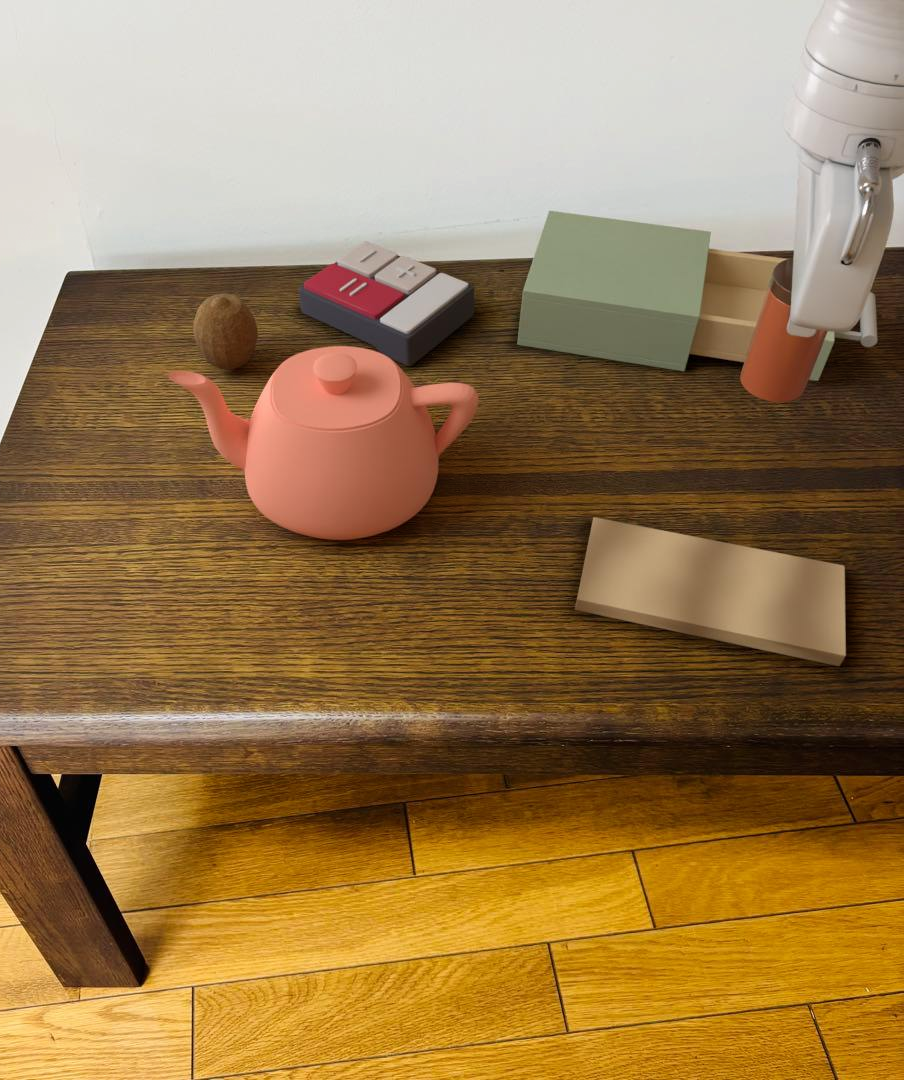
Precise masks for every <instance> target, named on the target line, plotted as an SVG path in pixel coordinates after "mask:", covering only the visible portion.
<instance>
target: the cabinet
mask: <svg viewBox="0 0 904 1080" xmlns="http://www.w3.org/2000/svg"><path fill="white" fill-rule="evenodd" d="M711 233H712V231H708V230H702V229H701V230H700V229H695V228H694V229H692V228H684V227H677V226H670V225H669V226H668V225H662V224H656V223H655V224H654V223H646V222H639V221H631V220H623V219H618V218H617V219H616V218H609V217H601V216H593V215H587V214H586V215H585V214H580V213H570V212H564V211H563V212H562V211H557V210H556V211H555V210H548V212H547V216H546V220H545V222H544V224H543V229H542V231H541V235H540V237H539V240H538V243H537V246H536V250H535V253H534V256H533V258H532V262H531V264H530V265H531V266H530V268H529V271H528V274H527V277H526V280H525V283H524V285H523V286H524V287H523V288H522V289H523V290H522V297H521V304H520V305H521V306H520V314H519V315H520V316H519V325H518V333H517V334H518V335H517V343H516V345H517V346H523V347H529V348H534V349H540V350H541V349H542V350H548V351H553V352H559V353H560V352H561V353H565V354H573V355H578V356H579V355H580V356H586V357H589V358H591V357H592V358H596V359H603V360H610V361H615V362H623V363H628V364H634V365H641V366H648V367H653V368H661V369H666V370H671V371H679V372H685V371H686V368H687V365H688V361H689V357H690V354H689V353H690V350H691V346H692V342H693V339H694V335H695V331H696V328H697V324H698V321H699V317H700V310H701V302H702V295H703V287H704V280H705V272H706V265H707V257H708V250H709V249H710V242H711Z"/></svg>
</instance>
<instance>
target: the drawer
mask: <svg viewBox="0 0 904 1080" xmlns="http://www.w3.org/2000/svg"><path fill="white" fill-rule="evenodd" d="M787 259H788V258H785V257H783V258H782V257H776V256H770V255H769V256H768V255H767V256H766V255H760V254H754V253H746V252H745V253H744V252H739V251H731V250H724V249H715V248H709V250H708V257H707V265H706V272H705V280H704V287H703V295H702V302H701V310H700V317H699V321H698V324H697V328H696V331H695V335H694V339H693V342H692V346H691V350H690V353H689V355H695V356H701V357H707V358H713V359H714V358H715V359H719V360H726V361H727V360H728V361H731V362H732V361H734V362H738V363H739V362H740V363H744V361H745V358H746V355H747V352H748V349H749V346H750V342H751V339H752V336H753V333H754V330H755V327H756V323H757V320H758V317H759V314H760V311H761V308H762V304H763V301H764V298H765V295H766V292H767V289H768V285H769V282H770V279H771V276H772V273H773V270H774V268H775V267H776V265H777V264H779V263H780V262H782V261H784V260H787ZM876 303H877V302H876V295H875V294H874V292H871V291H870V293H869V295H868V298H867V301H866V304H865V306H864V309H863V312H862V314H861V317H860V319H859V326H860V327H859V330H860V331H853V330H850V331H848V332H831V331H828V332H827V335H826V337H825V340H824V342H823V345H822V347H821V350H820V353H819V355H818V358H817V360H816V363H815V366H814V368H813V371H812V373H811V376H810V379H809V381H814V382H815V381H816V382H819V380H820V378H821V375H822V373H823V370H824V368H825V366H826V364H827V361H828V359H829V356H830V353H831V352H832V349H833V346H834V344H835V341H836V339H835V338H837V339H843V340H850V341H857V342H860V345H862V346H863V347H865V348H872V347H874V346H875V345H877V343H878V325H877V322H878V321H877V305H876Z"/></svg>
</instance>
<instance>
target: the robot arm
mask: <svg viewBox="0 0 904 1080" xmlns="http://www.w3.org/2000/svg"><path fill="white" fill-rule="evenodd" d="M805 37H806V38H805V40H804V43H803V48H802V51H801V55H800V59H799V62H798V66H797V70H796V73H795V75H794V79H793V83H792V86H791V90H790V94H789V97H788V100H787V104H786V107H785V110H784V111H785V112H784V115H783V118H782V125H783V128H784V131H785V133H786V134H787V136H788V137H789V138H790V139H791V140H792V142H794V143H795V144H796V145H797V148H796V154H797V158H798V165H797V166H798V167H797V169H798V171H797V173H798V174H797V189H796V208H795V225H794V241H793V242H794V244H793V257H792V258H794V259H793V277H792V295H791V309H790V312H789V314H788V320H787V332H788V333H789V334H790V335H794V336H801V337H811V336H814V334H815V333H816V331H817V330H824V331H831V332H848V331H852V329H854V327H856V325H857V323H859V322H860V317H861V314H862V312H863V309H864V306H865V304H866V301H867V298H868V295H869V293H870V292H871V290H872V287H873V284H874V281H875V278H876V276H877V274H878V271H879V267H880V265H881V261H882V260H883V257H884V252H885V250H886V246H887V243H888V239H889V236H890V233H891V228H892V224H893V220H894V211H895V201H894V200H895V199H894V185H893V180H896V179H898V178H899V177H901V176H902V175H903V174H904V0H824V1H823V3H822V5H821V8H820V10H819V12H818V14H817V15H816V17H815V18H814V20H813V22H812V23H811V25H810V27H809V29H808V31H807V34H806V36H805Z"/></svg>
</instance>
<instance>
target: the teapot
mask: <svg viewBox="0 0 904 1080" xmlns="http://www.w3.org/2000/svg"><path fill="white" fill-rule="evenodd" d="M167 377H168V379H169V380H171V381H172V382H173V383H175V384H177V385H179V386H181V387H182V388H184V389H185V390H187V391H189V392H190V393H191V394H192V395H194V396H195V398H196V399H197V401H198V402H199V404H200V406H201V408H202V411H203V414H204V417H205V420H206V424H207V429H208V432H209V435H210V438H211V441H212V443H213V445H214V447H215V449H216V450H217V452H218V453H219V454H220V455H221V457H222V458H223V459H224V460H226V461H227V462H229V464H231V465H233V466H235V467H237V468H239V469H240V470H242V471H244V477H245V478H244V480H245V486H246V490H247V494H248V496H249V498H250V499H251V502H252V503H253V504H254V506H255V507H256V508H257V510H258V511H259V512H260V513H261V514H262V515H263V516H264V517H266V519H268V520H270V521H271V522H272V523H274V524H276V525H277V526H279V527H281V528H284V529H285V530H288V531H290V532H293V533H296V534H300V535H303V536H305V537H311V538H316V539H322V540H330V541H347V540H348V541H349V540H357V539H363V538H368V537H372V536H377V535H380V534H382V533H383V534H384V533H386V532H388V531H390V530H393V529H395V528H398V527H399V526H401V525H402V524H404V523H406V522H408V521H409V520H411V519H412V518H413V517H414V516H416V515H417V514H418V513H419V512H420V511H421V510H422V509H423V508H424V507H425V506H426V505H427V503H428V502H429V500H430V498H431V496H432V494H433V492H434V490H435V487H436V484H437V481H438V474H439V460H440V459H439V456H440V455H441V454H442V453H443V452H444V451H445V450H446V449H447V448H448V447H449V446H450V445H452V443H454V442H455V440H456V439H458V437H459V436H460V435H461V434H462V433H463V432H464V431H465V430H466V428H467V427H468V426H469V425H470V423H471V422H472V420H473V418H474V417H475V415H476V412H477V410H478V407H479V399H480V397H479V393H478V391H477V390H476V389H475V388H474V387H473V386H472V385H469V384H467V383H462V382H442V383H434V384H428V385H421V386H415V384H414V383H413V382H412V380H411V379H410V378H409V377H408V375H407V373H405V371H404V370H403V369H402V368H401V367H400V366H399V365H398V364H397V363H396V362H395V360H394V359H391V358H389V357H387V356H385V355H383V354H381V353H380V352H379V351H376V350H372V349H368V348H364V347H358V346H348V345H334V346H333V345H332V346H324V347H318V348H317V347H316V348H311V349H308V350H304V351H302V352H298V353H296V354H294V355H292V356H290V357H288V358H287V359H285V360H284V361H282V362H281V364H279V365H278V367H277V368H276V369H275V371H274V372H273V373H272V375H271V376H270V378H269V380H268V381H267V383H266V384H265V386H264V388H263V390H262V391H261V394H260V395H259V397H258V399H257V402H256V404H255V406H254V408H253V411H252V414H251V416H250V419H246V418H243V417H240V416H238V415H236V414H235V413H233V412H232V411H231V410H230V409H229V408H228V406H227V404H226V401H225V398H224V395H223V393H222V392H221V390H220V388H219V386H217V384H216V383H215V382H214V381H213V380H212V379H210V378H208V377H207V376H205V375H203V374H200V373H197V372H192V371H186V370H173V371H171V372H169V373H168V374H167ZM441 405H446V406H450V407H451V408H450V411H449V413H448V416H447V418H446V420H445V422H444V423H443V425H442V426H441V428H440V429H439V430H438V432H437V433H436V432H435V427H434V424H433V421H432V416H431V414H430V411H429V410H428V407H429V406H430V407H431V406H441Z"/></svg>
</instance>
